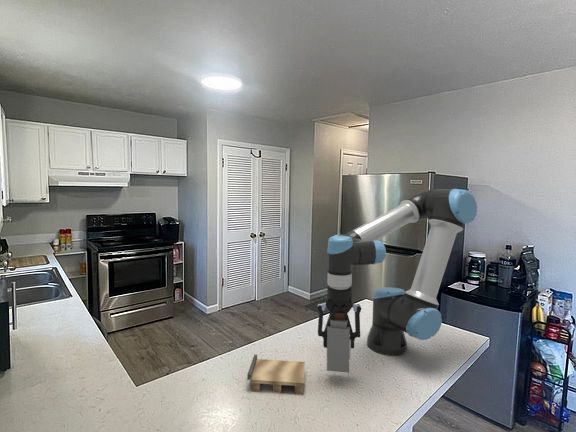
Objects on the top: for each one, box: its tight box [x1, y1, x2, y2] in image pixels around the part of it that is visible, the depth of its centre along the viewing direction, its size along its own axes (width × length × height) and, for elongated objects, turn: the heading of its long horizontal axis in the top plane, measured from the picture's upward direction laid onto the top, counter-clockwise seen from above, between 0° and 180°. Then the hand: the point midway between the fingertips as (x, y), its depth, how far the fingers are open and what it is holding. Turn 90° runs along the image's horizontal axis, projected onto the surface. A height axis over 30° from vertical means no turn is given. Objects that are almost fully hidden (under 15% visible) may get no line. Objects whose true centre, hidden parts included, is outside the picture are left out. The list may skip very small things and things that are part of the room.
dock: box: [247, 354, 306, 395], centre depth 102 cm, size 17×12×5 cm
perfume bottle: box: [326, 312, 350, 374], centre depth 102 cm, size 7×7×18 cm
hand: (338, 357), depth 102 cm, fingers closed on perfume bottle, 6 cm apart
